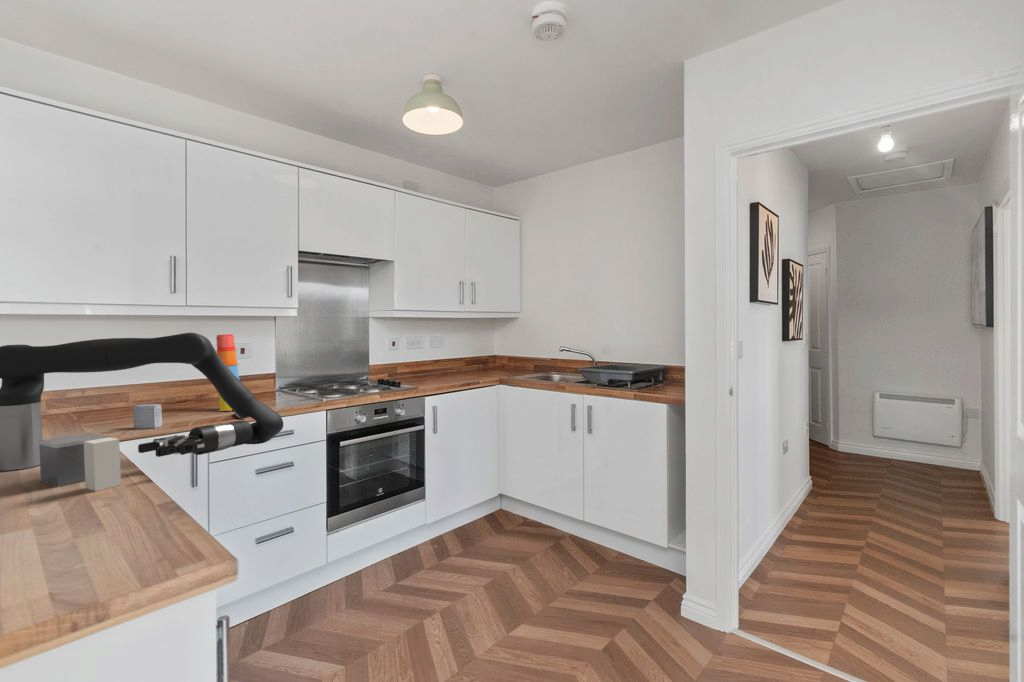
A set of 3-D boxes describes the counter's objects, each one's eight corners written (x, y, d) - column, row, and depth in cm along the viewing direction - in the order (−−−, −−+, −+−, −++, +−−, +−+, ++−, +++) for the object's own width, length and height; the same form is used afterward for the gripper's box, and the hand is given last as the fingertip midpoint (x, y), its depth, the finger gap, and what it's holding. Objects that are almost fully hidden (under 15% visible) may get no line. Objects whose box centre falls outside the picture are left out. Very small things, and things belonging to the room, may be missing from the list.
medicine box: (162, 426, 195) (162, 403, 195) (155, 428, 191) (154, 405, 191) (141, 426, 195) (140, 404, 195) (133, 429, 191) (132, 406, 190)
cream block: (85, 488, 119) (83, 441, 118) (110, 482, 123) (109, 437, 123) (95, 491, 116) (93, 443, 116) (121, 485, 120) (119, 439, 120)
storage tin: (39, 481, 125) (37, 440, 125) (90, 470, 134) (89, 432, 134) (57, 487, 120) (55, 444, 120) (109, 475, 129) (108, 436, 129)
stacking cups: (229, 412, 226) (227, 334, 225) (213, 411, 229) (210, 334, 228) (249, 408, 235) (246, 333, 234) (232, 408, 239) (230, 334, 238)
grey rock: (231, 415, 220) (231, 399, 220) (243, 413, 223) (243, 398, 223) (237, 421, 206) (236, 404, 206) (250, 419, 208) (249, 403, 208)
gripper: (197, 422, 145) (132, 433, 131) (227, 426, 138) (161, 438, 124) (198, 448, 145) (133, 462, 131) (228, 454, 138) (162, 469, 124)
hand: (147, 450), depth 128 cm, fingers open, 8 cm apart
